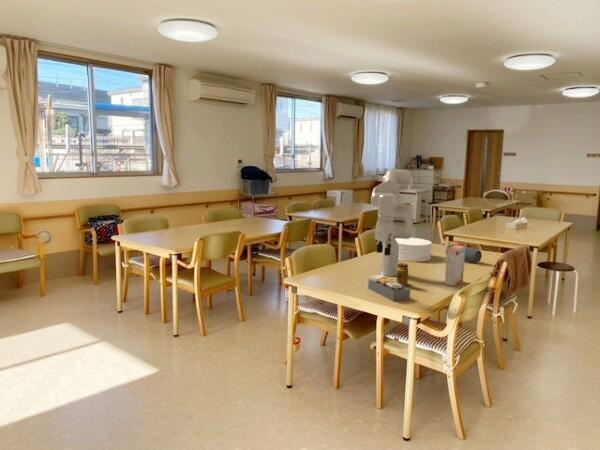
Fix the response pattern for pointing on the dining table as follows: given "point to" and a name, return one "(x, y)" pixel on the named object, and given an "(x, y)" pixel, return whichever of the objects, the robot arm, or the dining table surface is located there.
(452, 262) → the cracker box
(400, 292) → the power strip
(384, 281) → the outlet rocker
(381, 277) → the outlet rocker
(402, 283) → the condiment
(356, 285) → the dining table surface
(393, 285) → the rocker outlet
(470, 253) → the bluetooth speaker
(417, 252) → the plate stack
